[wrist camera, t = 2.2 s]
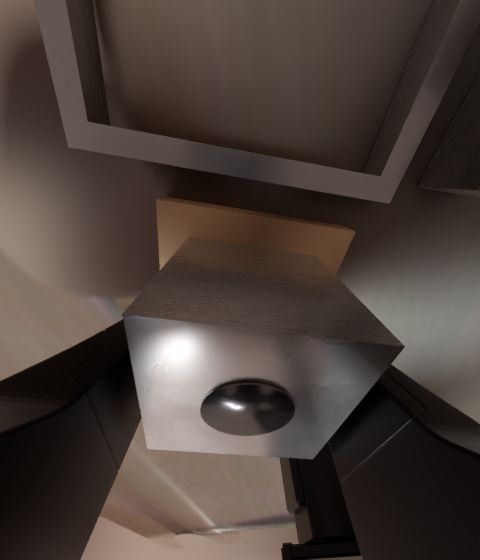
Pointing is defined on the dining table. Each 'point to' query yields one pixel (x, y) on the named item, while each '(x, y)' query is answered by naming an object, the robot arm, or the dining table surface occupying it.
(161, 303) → the block with dome knob
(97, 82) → the grey rectangular tray
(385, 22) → the dining table surface
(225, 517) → the dining table surface
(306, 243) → the stand
